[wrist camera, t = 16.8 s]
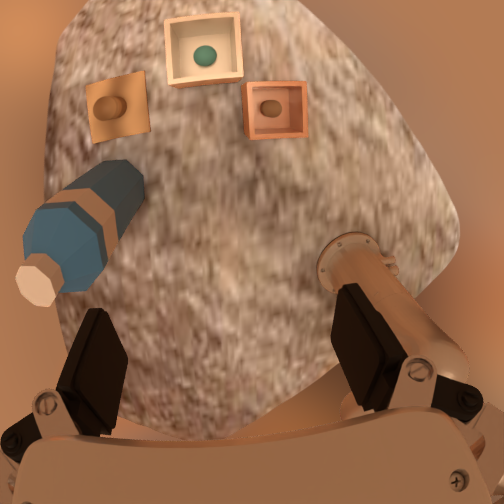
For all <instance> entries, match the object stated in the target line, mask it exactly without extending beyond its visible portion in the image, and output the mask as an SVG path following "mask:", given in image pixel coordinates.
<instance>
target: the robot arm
mask: <svg viewBox="0 0 504 504" xmlns="http://www.w3.org/2000/svg"><path fill="white" fill-rule="evenodd" d="M395 261H396V259H395V257H394V256H390V257H386V258H384V257H383V256H382V255H381V253H380V249H379V246H378V244H377V243H376V242H375V240H373V239H372V238H371V237H370V236H368V235H367V234H364V233H357V232H355V233H348V234H345V235H342V236H340V237H338V238H336V239H335V240H334V241H332V242H331V243H330V244H329V245H328V246H327V247H326V248H325V250H324V251H323V252H322V254H321V256H320V258H319V261H318V264H317V276H318V279H319V281H320V283H321V285H322V286H323V287H324V288H325V289H326V290H328V291H329V292H332V293H335V294H337V301H336V308H335V314H334V320H333V325H332V331H331V343H332V345H333V348H334V350H335V352H336V355H337V357H338V359H339V362H340V364H341V367H342V369H343V371H344V374H345V376H346V378H347V380H348V383H349V386H350V388H351V392H350V393H349V394H348V395H347V396H346V397H345V398H344V399H343V401H342V403H341V406H340V417H341V420H342V421H338V422H334V423H329V424H325V425H321V426H316V427H311V428H306V429H300V430H295V431H290V432H283V433H277V434H269V435H262V436H253V437H245V438H234V439H220V440H201V441H150V440H130V439H117V438H105V437H100V434H105V435H111V432H112V429H114V428H115V426H116V420H117V415H118V409H119V404H120V398H121V393H122V388H123V383H124V379H125V374H126V369H127V365H128V357H127V354H126V352H125V350H124V348H123V346H122V344H121V341H120V339H119V337H118V335H117V333H116V331H115V328H114V326H113V324H112V322H111V319H110V317H109V315H108V313H107V312H106V311H104V310H103V309H102V308H90V309H88V311H87V313H86V315H85V317H84V319H83V322H82V324H81V326H80V328H79V331H78V333H77V335H76V338H75V340H74V342H73V345H72V347H71V350H70V352H69V354H68V357H67V360H66V362H65V365H64V367H63V370H62V373H61V375H60V378H59V381H58V383H57V387H56V390H53V389H45V390H43V391H41V392H39V393H38V394H37V395H36V396H35V398H34V400H33V402H32V411H33V412H32V413H31V414H29V415H28V416H26V417H25V418H23V419H22V420H20V421H19V422H17V423H15V424H14V425H12V426H11V427H9V428H8V429H7V430H6V431H5V432H4V433H3V435H2V437H1V443H0V445H1V449H0V504H504V496H503V497H502V498H500V499H499V500H497V501H496V502H494V503H492V500H491V496H495V495H504V412H502V411H501V410H499V409H498V408H496V407H495V406H493V405H492V404H490V403H489V402H488V403H487V404H485V403H484V402H483V397H482V394H481V393H480V391H479V390H478V389H477V388H475V387H473V386H471V385H468V384H465V383H466V381H467V379H468V376H469V370H470V367H469V361H468V358H467V356H466V355H465V353H464V352H463V350H462V349H461V348H460V347H459V345H458V344H457V343H456V342H455V341H453V340H452V339H451V338H450V337H449V336H448V335H447V334H446V333H445V332H444V331H443V330H442V329H441V328H440V327H438V326H437V324H435V322H434V321H433V320H432V319H430V317H429V316H428V315H427V314H426V313H425V311H424V310H423V309H422V308H421V307H420V306H419V304H418V303H417V302H416V301H415V300H414V298H413V297H412V296H411V295H410V294H409V293H408V291H407V290H406V289H405V288H404V287H403V285H402V284H401V283H400V282H399V281H398V279H397V278H396V277H395V276H396V275H398V273H399V269H398V267H397V266H396V265H395V266H389V267H386V266H385V264H394V263H395Z"/></svg>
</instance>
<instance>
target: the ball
mask: <svg viewBox="0 0 504 504" xmlns="http://www.w3.org/2000/svg"><path fill="white" fill-rule="evenodd" d="M193 58H194V61H195V62H196V63H197V64H198V65H200V66H209V65H211V64H213V63H214V62H215V60H216V58H217V53H216V50H215V49H214V48H213V47H211V46H208V45H204V46H200V47H198V48H197V49H196V50H195V52H194V54H193Z"/></svg>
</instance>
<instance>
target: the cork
mask: <svg viewBox="0 0 504 504" xmlns="http://www.w3.org/2000/svg"><path fill="white" fill-rule="evenodd" d="M260 111H261V113H262V114H263V115H264V116H267V117H271V118H275V117H278V116H279V115H280V114H281V112H282V106H281V104H280V103H279V102H278V101H276V100H265V101H263V102H262V103H261V105H260Z"/></svg>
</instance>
